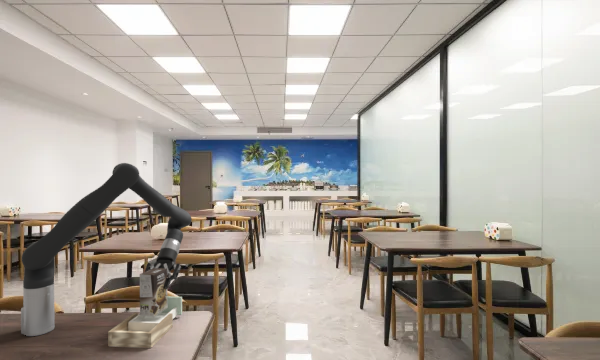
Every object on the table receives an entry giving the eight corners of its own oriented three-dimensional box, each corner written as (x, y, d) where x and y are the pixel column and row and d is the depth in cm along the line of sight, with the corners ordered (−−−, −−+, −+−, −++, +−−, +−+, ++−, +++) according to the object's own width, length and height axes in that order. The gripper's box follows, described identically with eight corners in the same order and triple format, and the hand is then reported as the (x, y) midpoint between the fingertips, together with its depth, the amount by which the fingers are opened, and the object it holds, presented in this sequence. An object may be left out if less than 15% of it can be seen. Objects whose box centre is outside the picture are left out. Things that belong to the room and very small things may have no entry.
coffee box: (154, 317, 129) (153, 274, 129) (139, 316, 131) (138, 273, 130) (168, 307, 138) (167, 268, 138) (154, 306, 140) (153, 267, 139)
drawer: (124, 330, 127) (124, 311, 127) (146, 312, 143) (146, 295, 143) (164, 331, 126) (164, 312, 126) (182, 314, 142) (182, 296, 142)
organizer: (108, 346, 118) (108, 331, 118) (134, 325, 134) (134, 312, 134) (151, 348, 117) (151, 333, 117) (172, 326, 133) (172, 313, 133)
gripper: (149, 246, 145) (134, 283, 133) (182, 247, 144) (170, 284, 133) (155, 256, 150) (142, 292, 139) (187, 256, 149) (176, 293, 138)
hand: (156, 288), depth 136 cm, fingers closed on coffee box, 6 cm apart
